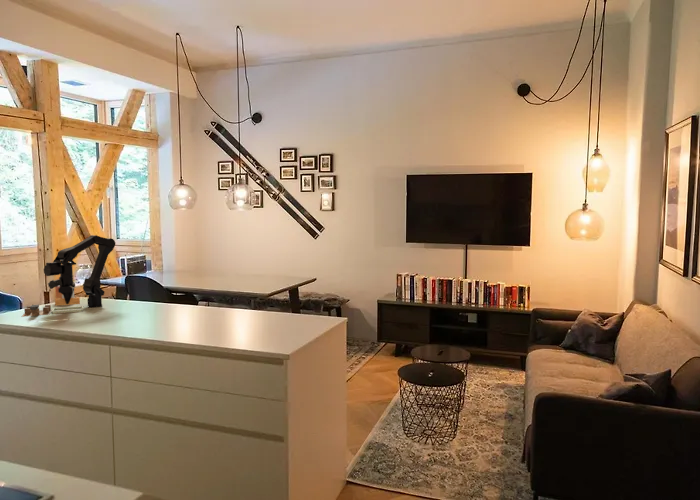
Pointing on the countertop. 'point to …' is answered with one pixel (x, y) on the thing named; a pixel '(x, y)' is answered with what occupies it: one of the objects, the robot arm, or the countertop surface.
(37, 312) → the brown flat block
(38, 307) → the tie
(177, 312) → the countertop surface
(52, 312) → the tray
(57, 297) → the small box
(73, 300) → the wooden rectangular block
